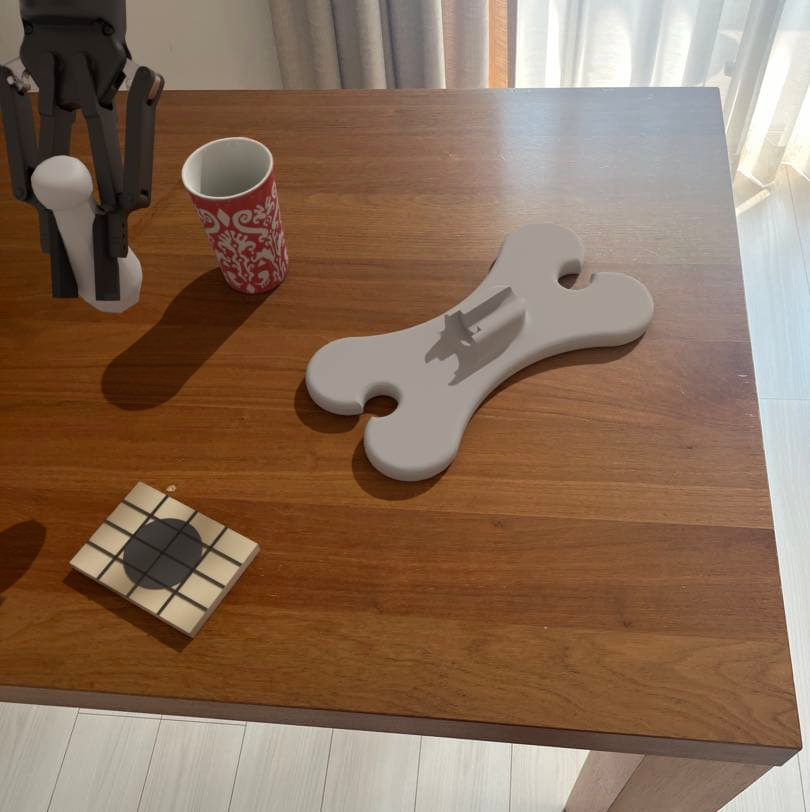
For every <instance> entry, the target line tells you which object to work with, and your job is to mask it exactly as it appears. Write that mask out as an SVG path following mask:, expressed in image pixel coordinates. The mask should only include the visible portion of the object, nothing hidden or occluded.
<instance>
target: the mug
mask: <svg viewBox="0 0 810 812" xmlns="http://www.w3.org/2000/svg"><path fill="white" fill-rule="evenodd" d="M274 163H275V162H274V157H273V154H272V152H271V150H269V148H268V147H267V146H266V145H264V144H263V143H261V142H260V141H257V140H255V139H252V138H250V137H248V136H237V137H225V138H219V139H216V140H212V141H210V142H207V143H206V144H203V145H202V146H200V147H198V148H197V149H196V150H195V151H193V152H192V153H191V154H190V155H189V156H188V157H187V159H186V160H185V161H184V163H183V165H182V167H181V174H180V175H181V180H182V181H181V182H182V184H183V186H184V188H185V189H186V190H187V192H188V194H189V197H190V198H191V201H192V204H193V206H194V208H195V212H196V213H197V215H198V218H199V220H200V222H201V224H202V227H203V229H204V232H205V234H206V237H207V239H208V241H209V244H210V246H211V249H212V251H213V254H214V255H215V258H216V260H217V262H218V265H219V268H220V269H221V273H222V274H223V277H224V279H225V281H226V282H227V284H228V285H229V286H230V287H231V288H232V289H233V290H235V291H238V292H240V293H244V294H251V295H252V294H253V295H254V294H262V293H265V292H268V291H271V290H273V289H275V288H276V287H278V286H279V285H280V284H281V283H282V282H283V281H284V280H285V279H286V277H287V275H288V274H289V273H288V272H289V270H290V261H289V255H288V248H287V244H286V238H285V233H284V227H283V222H282V215H281V210H280V202H279V196H278V190H277V185H276V180H275V179H276V178H275V175H274Z"/></svg>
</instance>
